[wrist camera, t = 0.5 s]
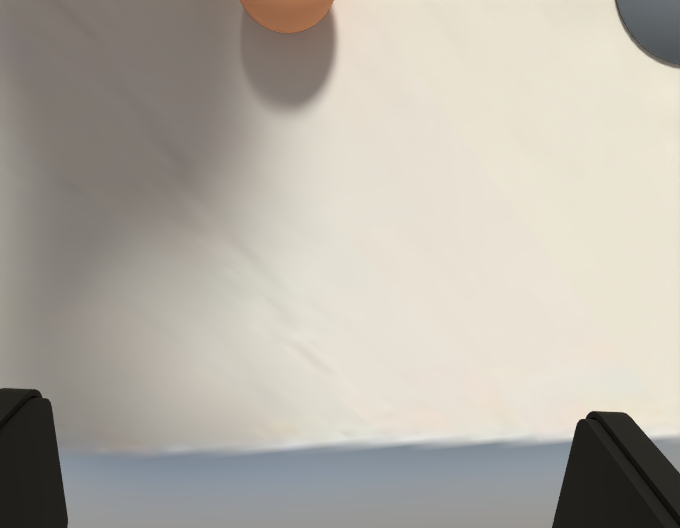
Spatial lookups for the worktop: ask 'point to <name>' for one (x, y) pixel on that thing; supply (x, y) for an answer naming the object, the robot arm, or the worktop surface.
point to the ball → (287, 13)
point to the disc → (654, 25)
